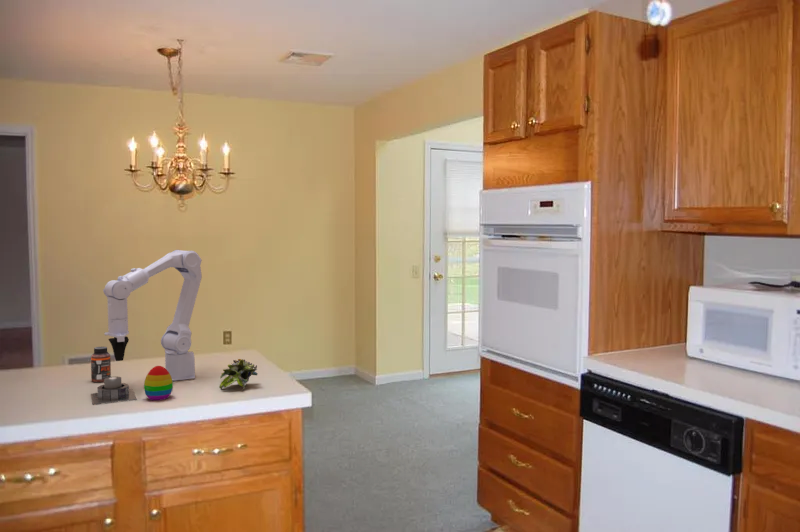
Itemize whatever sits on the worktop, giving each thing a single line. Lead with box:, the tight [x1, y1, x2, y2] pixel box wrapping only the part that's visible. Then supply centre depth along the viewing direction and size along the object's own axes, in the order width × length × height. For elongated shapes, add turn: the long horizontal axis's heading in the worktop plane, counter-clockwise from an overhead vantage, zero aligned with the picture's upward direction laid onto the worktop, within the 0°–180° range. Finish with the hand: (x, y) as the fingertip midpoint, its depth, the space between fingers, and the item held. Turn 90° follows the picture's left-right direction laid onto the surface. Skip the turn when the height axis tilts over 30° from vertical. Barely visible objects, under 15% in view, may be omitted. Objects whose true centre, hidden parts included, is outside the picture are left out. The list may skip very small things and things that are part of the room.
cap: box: [103, 376, 123, 389], centre depth 192 cm, size 5×5×6 cm
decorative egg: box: [143, 365, 174, 401], centre depth 191 cm, size 8×8×10 cm
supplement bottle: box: [90, 346, 112, 383], centre depth 211 cm, size 6×6×11 cm
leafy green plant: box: [218, 358, 259, 391], centre depth 203 cm, size 11×11×12 cm
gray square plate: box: [90, 382, 138, 406], centre depth 192 cm, size 12×12×3 cm
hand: (119, 360), depth 199 cm, fingers closed
